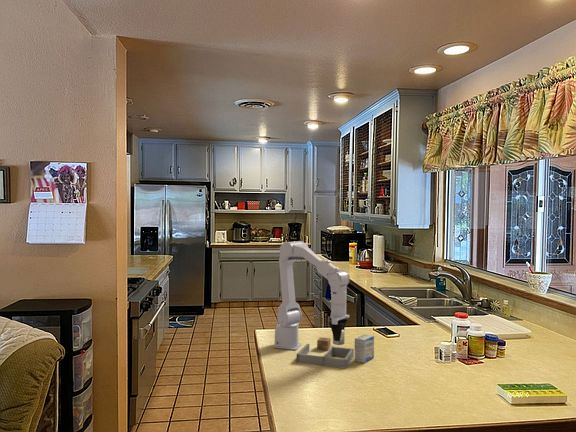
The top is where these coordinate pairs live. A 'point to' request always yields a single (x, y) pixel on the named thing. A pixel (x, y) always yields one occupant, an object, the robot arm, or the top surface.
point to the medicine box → (364, 348)
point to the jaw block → (323, 344)
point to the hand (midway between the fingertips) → (338, 338)
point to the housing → (327, 357)
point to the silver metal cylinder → (340, 339)
